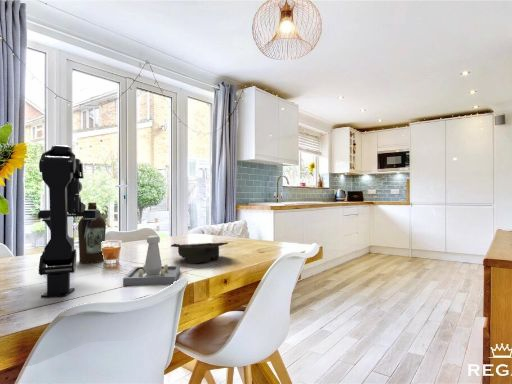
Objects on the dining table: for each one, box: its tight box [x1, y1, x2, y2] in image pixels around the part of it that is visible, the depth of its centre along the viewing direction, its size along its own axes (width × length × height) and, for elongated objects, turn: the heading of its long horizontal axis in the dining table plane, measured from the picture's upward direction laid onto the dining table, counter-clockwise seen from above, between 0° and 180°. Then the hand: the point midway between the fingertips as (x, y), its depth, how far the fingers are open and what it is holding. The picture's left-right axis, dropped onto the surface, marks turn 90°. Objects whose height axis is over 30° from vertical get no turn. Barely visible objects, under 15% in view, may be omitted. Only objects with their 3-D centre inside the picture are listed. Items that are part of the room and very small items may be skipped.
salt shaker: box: [144, 235, 163, 275], centre depth 112 cm, size 6×6×13 cm
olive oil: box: [77, 202, 107, 265], centre depth 139 cm, size 11×11×25 cm
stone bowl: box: [170, 242, 229, 265], centre depth 144 cm, size 25×25×9 cm
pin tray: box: [122, 263, 181, 286], centre depth 112 cm, size 16×16×4 cm
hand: (69, 238), depth 115 cm, fingers open, 9 cm apart
